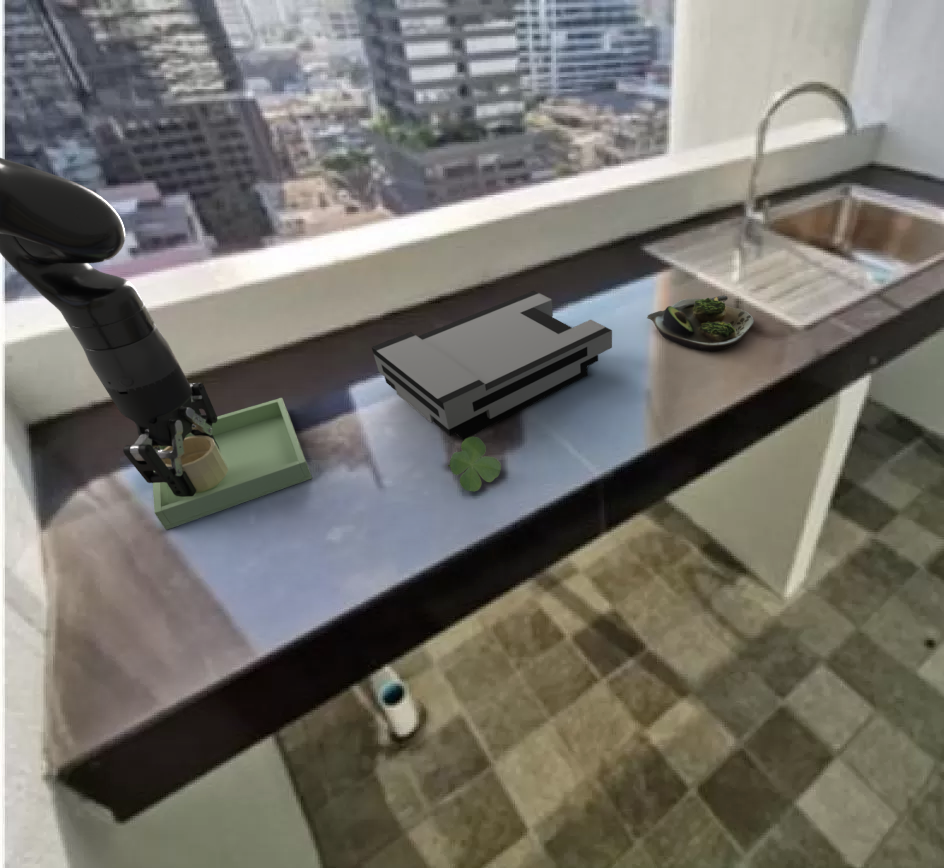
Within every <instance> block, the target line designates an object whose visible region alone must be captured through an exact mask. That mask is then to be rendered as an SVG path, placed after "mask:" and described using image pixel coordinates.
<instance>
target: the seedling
mask: <svg viewBox="0 0 944 868" xmlns="http://www.w3.org/2000/svg"><path fill="white" fill-rule="evenodd" d="M460 449H461V451H455V452H454V453H452V454H451V457H450V460H449V464H448V465H447V467H449V468H450V471H451V473H452V474H453V475H454V476H459V475H460V478H459V484H460V486H461V488H463V490H464V491H467V492H477V491H479V490H480V489H481V487H482V479H483V481H485V482H486V483H492V482H493V481H494V480H495V479H497V478H498V477H499V475H500V473H501V470H502V464H501V462H500V461H499V460H498V458H496V457H494V456H489V455H488V456H487V455H486V456H485V454H486V451H487V447H486V445H485V443H484V441H483V440H482V439H481V438H480V437H478V436H470V437H468V438H466V439H464V440H463V441H462V442H461V445H460ZM481 478H482V479H481Z"/></svg>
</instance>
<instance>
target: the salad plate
mask: <svg viewBox="0 0 944 868" xmlns="http://www.w3.org/2000/svg"><path fill="white" fill-rule="evenodd" d="M726 301H728V296H727V295H718V296H715V297H710V298H709V297H706V298H697V297H696V298H684V299H681V300H678V301H677V302H675V303H674V304H673V305H669V306H667V307H666V308H665V309H664V310H658V311H654V312H651V313H650V314H647V317H646V319H649V320H650V321H652V322H653V324H654V326H655V328H656V330H657V331H658V333H659V334H660V335H661V337H663V338H664V339H666V340H668V341H669V342H673V343H675V344H677V345H680V346H683V347H685V348H689V349H692V350H695V351H702V352H719V351H723V350H725V349H728V348H730V347H733V346H734V345H736V344H737V343H739V342H740V341H741V340H742V337H744V336H745V335H746V334H747V333H748V331H749V330H750V329H751V327H752V326H753V325H754V317H753V316H752V315H751V314H750V313H749V312H748V311H746V310H744V309H741V308H737V307H732V306H729V305H726V303H725V302H726Z"/></svg>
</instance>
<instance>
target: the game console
mask: <svg viewBox="0 0 944 868" xmlns="http://www.w3.org/2000/svg"><path fill="white" fill-rule="evenodd" d="M553 316H554V313H553V299H552V298H550V297H547V296H546V295H544V294H542V293H540V292H538V291H535V290H532V291H529V292H527V293H524V294H521V295H519V296H516V297H514V298H511V299H508V300H507V301H504V302H501V303H498V304H496V305H494V306H491V307H489V308H486V309H483V310H481V311H478V312H476V313H473V314H470V315H468V316H466V317H464V318H460V319H458V320H455V321H452V322H450V323H448V324H446V325H443V326H440V327H438V328H435V329H433V330H430V331H428V332H425V333H423V334H419V335H416V334H415V333H413V332H411V331H409V332H407V333H404V334H401V335H399V336H397V337H394V338H391V339H389V340H386V341H384V342H381V343H378V344H376V345H373V346H371V350H372V353H373V357H374V360H375V364H376V367H377V372H378V373H379V374H381V375H382V376H383V377H384V379H385V383H386V384H387V385H388V386H389V387H391V388H392V389H393V391H395V393H396V395H398V397H400V398H401V399H402V400H403V401H405V402H406V404H408V405H409V406H410V407H412V408H413V409H414V410H415V411H416V412H417V413H418V414H420V415H421V416H422V417H424V418H425V419H426V420H427V421H428V422H430V423H431V424H433V423H434V424H435V425H436V426H438V427H439V429H441V431H443V432H445V433H446V434H447V435H448V436H450V437H451V436H454V435H457V436H458V437H459V438H460V439H461V440H463V441H464V440H465V439H466V438H469V437H473V436H474V435H476V434H478V433H480V432H481V431H483V430H486V429H488V428H489V427H491V426H494V425H495V424H497V423H499V422H501V421H503V420H505V419H507V418H509V417H510V416H512V415H514V414H516V413H518V412H520V411H522V410H524V409H526V408H528V407H529V406H531V405H533V404H536V403H538V402H539V401H541V400H543V399H545V398H547V397H549V396H551V395H553V394H555V393H557V392H558V391H560V390H562V389H564V388H566V387H568V386H570V385H572V384H574V383H576V382H578V381H579V380H582V379H583V378H586V377H588V375H589V374H588V373H589V372H588V367H589V366H592V365H593V364H595V363H597V362H599V355H600V354H602V353H604V352H606V351H608V350H610V349H612V348H613V330H612V329H611V328H609V327H606V326H605V325H603V324H601V323H599V322H597V321H595V320H593V319H589V320H586V321H584V322H582V323H580V324H578V325H575V326H573V327H572V326H570V325H568V324H566V323H564V322H562V321H561V320H559V319H557V318H555V317H553Z"/></svg>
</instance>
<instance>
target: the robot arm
mask: <svg viewBox="0 0 944 868" xmlns="http://www.w3.org/2000/svg"><path fill="white" fill-rule="evenodd" d="M125 241H126V229H125V225H124V223H123V220H122V218H121V216H120V214H119V213H118V212H117V210H116V209H115V208H114V206H113V205H111V204H110V203H109V201H107V200H106V199H105V198H104V197H103V196H101V195H100V194H98V193H97V192H96V191H94V190H92V189H90V188H89V187H86V186H84V185H82V184H80V183H78V182H76V181H73V180H70V179H68V178H65V177H62V176H60V175H56V174H53V173H50V172H48V171H44V170H41V169H39V168H35V167H32V166H29V165H26V164H22V163H19V162H15V161H13V160H9V159H5V158H2V157H0V255H1V256H2V258H4V259H5V261H6V262H7V263H8V264H9V265H10V266H11V267H12V268H13V269H14V270H15V271H16V272H17V273H19V275H20V276H22V277H23V278H24V280H26V281H27V283H29V284H30V286H32V287H33V288H34V289H35V290H36V291H37V292H38V293H39V294H40V295H41V296H42V297H43V298H45V300H47V301H48V302H49V303H50V304H51V305H53V306H54V307H55V308H56V310H58V311H59V312H60V314H61V315H62V317H63V319H64V320H65V322H66V323H67V325H68V327H69V328H70V330H71V331H72V333H73V334H74V336H75V337H76V339H77V341H78V342H79V344H80V345H81V348H82V349H83V351H84V353H85V356H86V359H87V361H88V363H89V365H90V367H91V369H92V370H93V372H94V373H95V375H96V376H97V378H98V379H99V381H100V382H101V384H102V386H103V387H104V389H105V391H106V392H107V394H108V395H109V397H110V398H111V400H112V402H113V403H114V405H115V406H116V408H117V409H118V411H119V412H120V414H121V415H123V417H126V418H127V419H129V420H130V421H132V422H133V423H134V424H135V426H136V429H137V435H138V438H137V439H136V441H135V442H134V443H133V444H126V445H124V446H123V449H122V450H123V451H122V452H123V454H124V456H125V457H126V458H127V459H128V460H129V462H130V463H131V464H132V465H133V466H134V468H135V469H136V470H137V471H138V473H139V475H141V477H142V478H143V479H144V481H145V482H146V483H147V484H153V483H162V482H165V483H167V484H168V486H169V487H170V488H171V490H172V492H173V494H174V495H176V496H180V497H189V496H193V495H194V494H195V493H196V489H195V487H194V485H193V484H192V482H191V480H190V479H189V477H188V475H187V474H186V472H185V471H183V467H182V460H181V457H182V456H183V455H184V446H183V441H184V439H185V437H186V435H188V434H190V435H191V436H198V435H203V436H209V437H210V438H212V439H213V440H214V441H215V439H214V437H213V435H212V434H213V428H212V427H211V426H212V423H216V422H217V417H218V415H217V413H216V411H215V408H214V406H213V403H212V402H211V399H210V397H209V395H208V391H207V389H206V387H205V385H204V383H202V382H189V381H188V378H187V376H186V374H185V372H184V371H183V369H182V366H181V365H180V363H179V361H178V360H177V357H176V356H175V354H174V352H173V350H172V348H171V346H170V345H169V342H168V341H167V338H165V336H164V335H163V333H162V332H161V331H160V329H159V328H158V327H157V325H156V323H155V320H154V319H153V317H152V316H151V313H150V312H149V310H148V307H147V306H146V304H145V302H144V300H143V299H142V297H141V295H140V293H139V292H138V290H137V288H136V287H135V286H134V284H133V283H132V282H131V281H129V280H127V279H126V278H123V277H121V276H117V275H114V274H110V273H106V272H102V271H100V270H98V269H97V268H94V267H93V266H91V264H97V263H103V262H107V261H110V260H111V259H113V258H114V257H115V256H117V255H118V254H119V253H120V252H121V250H122V249H123V247H124V244H125ZM200 410H203V411H204V414H202V413H201V411H200ZM215 443H216V445H217V447H218V449H219V446H218V444H217V442H216V441H215ZM159 446H172V447H173V450H168V451H163V450H161V449H160V447H159ZM219 451H220V450H219ZM220 453H221V452H220ZM165 458H169V459H170V460H171V465H172V467H167V466H166V462H165ZM154 471H155V472H154Z"/></svg>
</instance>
